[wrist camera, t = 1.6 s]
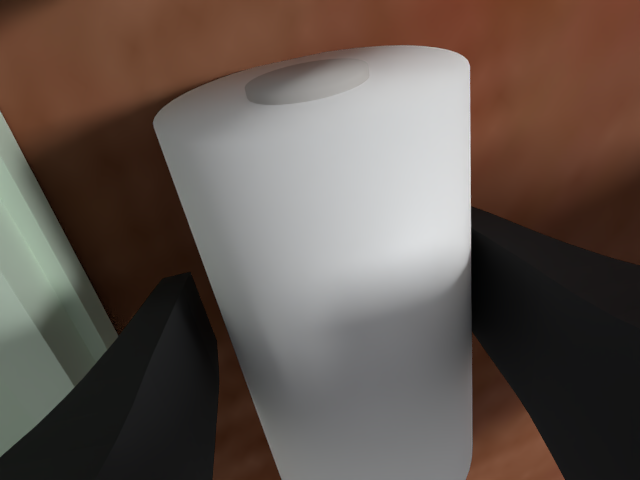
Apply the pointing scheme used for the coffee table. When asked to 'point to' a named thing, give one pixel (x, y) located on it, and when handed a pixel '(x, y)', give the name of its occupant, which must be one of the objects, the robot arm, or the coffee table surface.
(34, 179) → the holder
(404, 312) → the roll
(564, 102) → the coffee table surface
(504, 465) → the coffee table surface
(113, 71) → the coffee table surface
